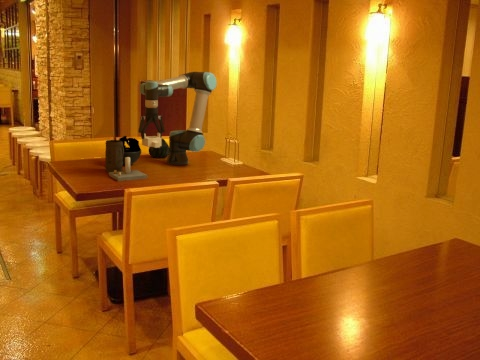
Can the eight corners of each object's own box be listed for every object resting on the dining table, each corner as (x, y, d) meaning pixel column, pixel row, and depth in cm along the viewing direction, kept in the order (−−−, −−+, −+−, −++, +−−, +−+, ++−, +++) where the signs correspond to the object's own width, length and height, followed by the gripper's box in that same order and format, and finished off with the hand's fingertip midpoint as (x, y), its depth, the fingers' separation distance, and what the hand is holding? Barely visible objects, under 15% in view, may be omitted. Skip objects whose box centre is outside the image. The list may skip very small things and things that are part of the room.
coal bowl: (135, 168, 325) (135, 140, 321) (106, 166, 327) (106, 138, 323) (145, 162, 344) (145, 135, 340) (117, 160, 347) (117, 134, 342)
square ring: (141, 144, 307) (141, 136, 306) (155, 143, 312) (155, 135, 311) (150, 148, 297) (150, 139, 296) (164, 147, 302) (164, 138, 301)
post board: (136, 173, 312) (136, 154, 309) (147, 178, 299) (147, 158, 297) (108, 175, 302) (108, 156, 299) (118, 181, 289) (118, 161, 287)
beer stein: (117, 173, 307) (118, 141, 304) (101, 172, 309) (102, 140, 306) (128, 170, 322) (128, 140, 319) (112, 169, 324) (113, 138, 321)
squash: (144, 148, 369) (150, 135, 359) (162, 148, 377) (169, 135, 367) (150, 163, 362) (157, 150, 352) (168, 162, 371) (175, 150, 361)
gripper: (137, 107, 292) (137, 145, 297) (170, 107, 304) (170, 143, 309) (132, 106, 298) (132, 143, 303) (165, 106, 310) (164, 141, 315)
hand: (151, 143), depth 306 cm, fingers closed on square ring, 9 cm apart
